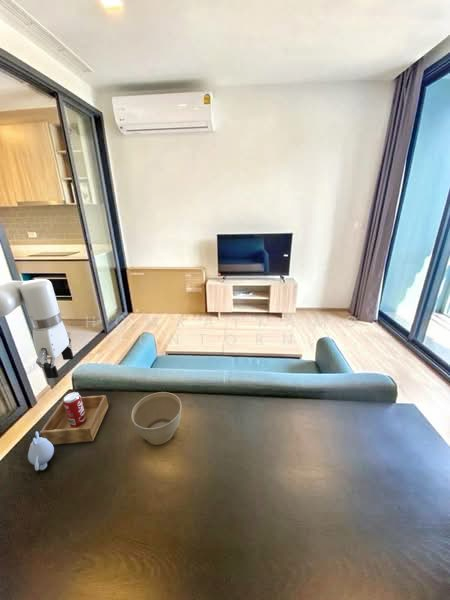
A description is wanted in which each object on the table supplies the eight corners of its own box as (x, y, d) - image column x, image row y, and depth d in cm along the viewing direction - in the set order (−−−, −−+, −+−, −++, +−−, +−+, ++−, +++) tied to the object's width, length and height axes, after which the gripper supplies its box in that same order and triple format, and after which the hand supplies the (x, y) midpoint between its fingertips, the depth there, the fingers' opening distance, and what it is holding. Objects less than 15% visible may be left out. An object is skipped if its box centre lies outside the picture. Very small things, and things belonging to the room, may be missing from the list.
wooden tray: (44, 445, 83) (39, 432, 81) (67, 409, 97) (63, 398, 95) (92, 440, 84) (89, 428, 82) (108, 406, 98) (106, 395, 96)
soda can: (82, 415, 94) (75, 389, 89) (89, 421, 91) (82, 395, 87) (67, 424, 90) (59, 397, 86) (74, 431, 87) (66, 404, 83)
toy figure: (38, 452, 80) (27, 424, 76) (60, 446, 82) (51, 418, 78) (27, 485, 71) (14, 454, 67) (53, 476, 73) (42, 447, 69)
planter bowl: (186, 414, 94) (184, 391, 91) (180, 453, 79) (177, 427, 75) (143, 415, 94) (139, 392, 90) (129, 455, 79) (124, 429, 75)
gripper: (49, 309, 83) (62, 354, 89) (13, 335, 67) (32, 386, 73) (73, 308, 83) (84, 352, 89) (43, 333, 67) (59, 384, 73)
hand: (61, 367), depth 81 cm, fingers open, 9 cm apart
